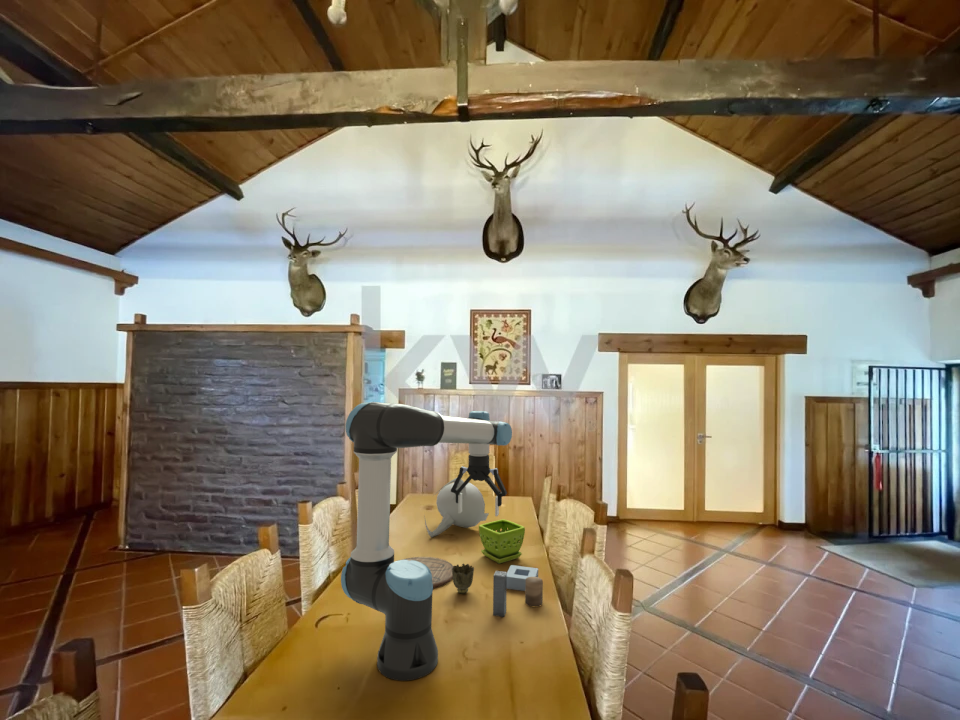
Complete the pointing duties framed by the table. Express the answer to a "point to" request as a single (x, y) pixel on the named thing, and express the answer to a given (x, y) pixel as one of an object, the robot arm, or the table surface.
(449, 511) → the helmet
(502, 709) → the table surface
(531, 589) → the brown short cylinder
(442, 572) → the trivet
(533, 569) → the bore block
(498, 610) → the square bit
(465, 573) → the ornate candle holder
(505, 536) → the flower pot
